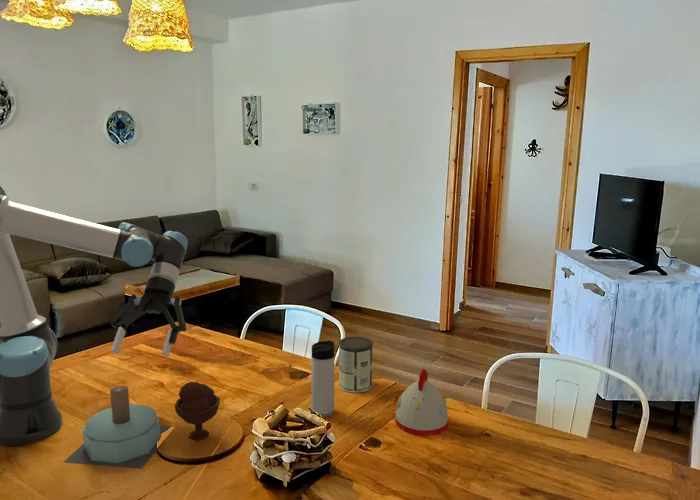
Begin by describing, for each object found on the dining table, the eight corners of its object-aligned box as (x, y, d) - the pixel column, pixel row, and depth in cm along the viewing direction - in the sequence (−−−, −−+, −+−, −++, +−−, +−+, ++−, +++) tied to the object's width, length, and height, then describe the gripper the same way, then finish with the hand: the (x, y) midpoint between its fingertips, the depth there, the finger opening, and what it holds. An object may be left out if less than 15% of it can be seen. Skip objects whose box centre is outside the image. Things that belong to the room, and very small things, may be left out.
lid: (72, 459, 129) (66, 402, 127) (109, 424, 145) (105, 373, 142) (138, 464, 128) (134, 407, 125) (169, 428, 143) (166, 377, 141)
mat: (63, 463, 128) (63, 462, 128) (107, 422, 147) (107, 421, 147) (141, 470, 126) (141, 468, 126) (176, 427, 145) (176, 426, 145)
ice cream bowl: (210, 450, 134) (208, 393, 131) (168, 445, 136) (164, 388, 134) (228, 428, 145) (226, 374, 142) (188, 423, 147) (186, 370, 144)
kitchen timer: (389, 430, 145) (390, 376, 142) (402, 406, 158) (404, 357, 155) (442, 440, 140) (444, 385, 137) (451, 415, 153) (454, 364, 150)
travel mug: (339, 411, 154) (340, 343, 150) (322, 420, 149) (322, 350, 145) (323, 404, 158) (324, 337, 154) (306, 412, 154) (306, 344, 150)
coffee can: (350, 375, 178) (350, 333, 175) (378, 383, 172) (379, 340, 169) (331, 387, 169) (332, 343, 166) (360, 396, 164) (361, 351, 161)
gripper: (209, 290, 156) (190, 361, 145) (125, 287, 159) (100, 356, 147) (201, 277, 150) (181, 350, 139) (113, 273, 153) (87, 344, 141)
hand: (139, 353), depth 143 cm, fingers open, 13 cm apart
